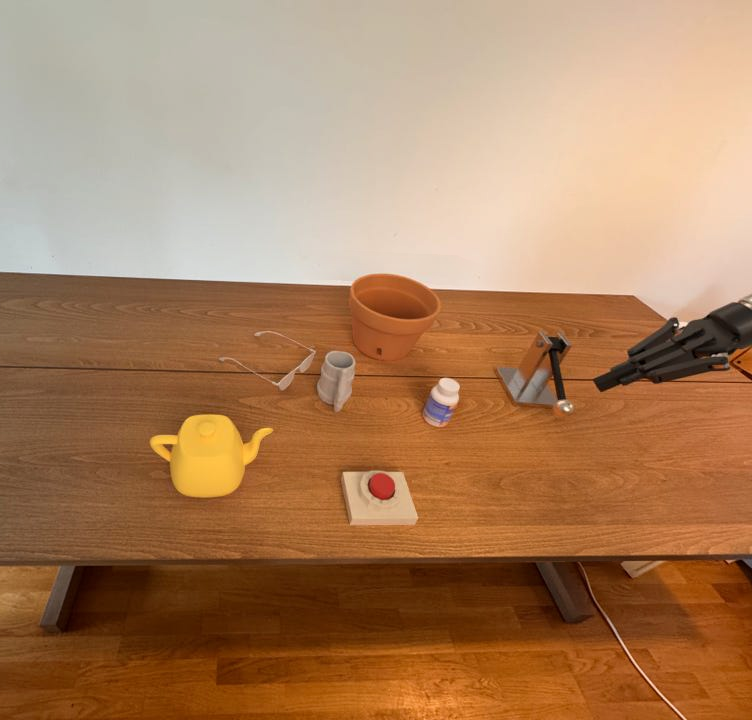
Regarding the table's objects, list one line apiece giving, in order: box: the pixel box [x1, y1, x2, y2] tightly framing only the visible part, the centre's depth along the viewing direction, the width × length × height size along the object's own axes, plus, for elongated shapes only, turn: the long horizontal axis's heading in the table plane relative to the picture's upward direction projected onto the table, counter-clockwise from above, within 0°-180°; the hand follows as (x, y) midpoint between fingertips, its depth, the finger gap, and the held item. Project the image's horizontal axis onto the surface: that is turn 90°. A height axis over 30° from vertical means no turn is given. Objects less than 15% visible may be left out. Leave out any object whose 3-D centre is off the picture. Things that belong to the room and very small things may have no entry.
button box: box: [340, 470, 419, 526], centre depth 72 cm, size 11×9×4 cm
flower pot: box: [348, 273, 442, 362], centre depth 104 cm, size 21×21×15 cm
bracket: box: [494, 330, 573, 410], centre depth 93 cm, size 12×10×15 cm
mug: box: [316, 350, 356, 413], centre depth 88 cm, size 8×12×12 cm, turn 178°
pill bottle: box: [422, 377, 461, 428], centre depth 86 cm, size 5×5×10 cm
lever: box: [547, 336, 575, 418], centre depth 87 cm, size 17×4×4 cm, turn 177°
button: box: [369, 473, 395, 499], centre depth 70 cm, size 4×4×2 cm
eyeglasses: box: [218, 330, 317, 391], centre depth 99 cm, size 15×18×4 cm
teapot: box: [149, 414, 274, 499], centre depth 71 cm, size 13×20×12 cm
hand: (596, 385), depth 80 cm, fingers closed
